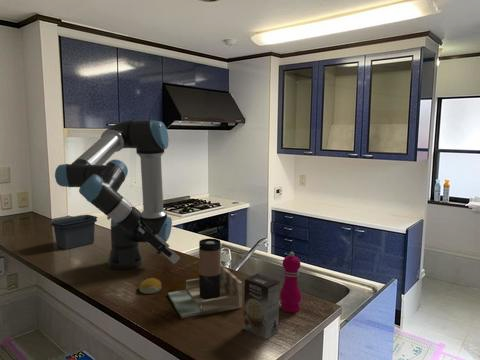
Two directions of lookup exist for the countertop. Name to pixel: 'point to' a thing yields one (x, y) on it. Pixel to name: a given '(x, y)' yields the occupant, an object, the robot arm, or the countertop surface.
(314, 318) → the countertop surface
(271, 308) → the coffee box
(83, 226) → the storage bin
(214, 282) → the travel mug
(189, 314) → the stepped plastic tray
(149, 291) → the bread roll
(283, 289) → the pepper mill
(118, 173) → the robot arm
